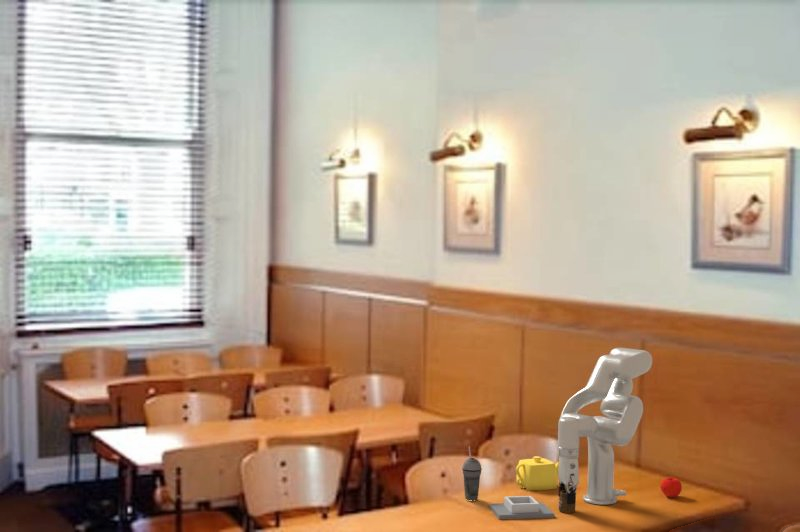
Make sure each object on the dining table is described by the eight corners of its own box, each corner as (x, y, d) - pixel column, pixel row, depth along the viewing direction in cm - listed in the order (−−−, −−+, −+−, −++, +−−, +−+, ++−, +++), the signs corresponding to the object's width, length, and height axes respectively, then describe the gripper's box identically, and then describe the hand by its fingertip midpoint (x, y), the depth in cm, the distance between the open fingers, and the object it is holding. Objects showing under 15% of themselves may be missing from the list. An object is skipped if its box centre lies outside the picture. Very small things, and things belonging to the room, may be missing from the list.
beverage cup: (479, 503, 357) (481, 449, 357) (460, 501, 359) (461, 448, 358) (482, 497, 364) (483, 444, 364) (463, 496, 366) (464, 443, 365)
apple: (659, 498, 367) (660, 479, 367) (660, 493, 375) (660, 474, 374) (681, 500, 365) (682, 481, 365) (681, 495, 372) (682, 476, 372)
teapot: (553, 480, 391) (554, 451, 391) (568, 488, 380) (569, 458, 379) (508, 484, 385) (509, 454, 384) (523, 492, 373) (523, 462, 373)
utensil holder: (575, 509, 351) (576, 476, 351) (574, 514, 345) (575, 481, 345) (559, 508, 352) (559, 475, 352) (558, 513, 346) (558, 479, 346)
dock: (542, 506, 355) (542, 494, 354) (554, 517, 341) (554, 504, 341) (489, 507, 351) (489, 495, 351) (498, 519, 338) (499, 506, 337)
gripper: (586, 457, 340) (585, 506, 341) (570, 446, 357) (569, 493, 358) (566, 457, 339) (564, 507, 339) (550, 446, 356) (549, 493, 357)
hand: (567, 500), depth 348 cm, fingers open, 8 cm apart
